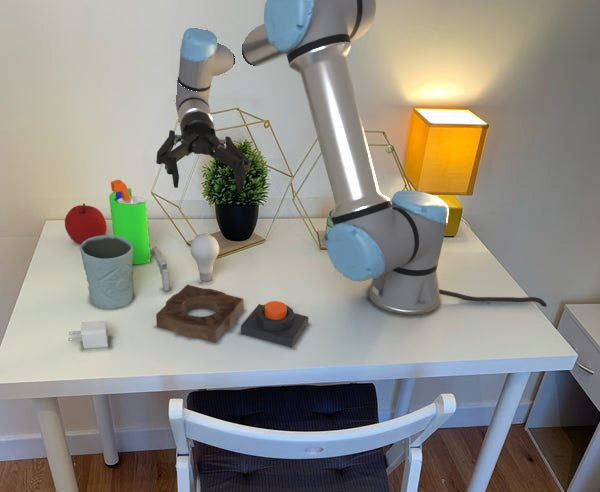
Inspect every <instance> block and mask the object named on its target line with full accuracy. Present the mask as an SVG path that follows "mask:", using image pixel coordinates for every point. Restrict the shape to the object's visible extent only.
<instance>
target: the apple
mask: <svg viewBox="0 0 600 492" xmlns="http://www.w3.org/2000/svg"><path fill="white" fill-rule="evenodd" d="M64 229H65V232H66V233H67V235H68V236H69V238H70V239H71V240H72V241H73V242H74V243H76V244H78V245H81V244H82V243H83V242H84V241H85V240H87V239H89V238H92V237H95V236H101V235H107V229H108V225H107V221H106V219H105V216H104V215H103V213H102V212H101V210H99V209H98V208H97V207H95V206H91V205H86V204H85V203H83V204H82V205H81V204H79V205H76V206H73V207H72V208H71V209H70V210H69V211H68V212H67V214H66V215H65V218H64Z"/></svg>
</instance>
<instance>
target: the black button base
mask: <svg viewBox="0 0 600 492" xmlns="http://www.w3.org/2000/svg"><path fill="white" fill-rule="evenodd" d="M266 304H267V303H264V304H260V303H258V305H257V306H256V307H255V308H254V309H253V310H252V312H251V313H250V314H249V315H248V316H247V318H246V319H245V320H244V322H243V323H242V324H241V325H240V334H241V335H243V336H247V337H249V338H255V339H258V340H261V341H266V342H269V343H273V344H277V345H280V346H284V347H287V348H293V347H294V346H295V345H296V343H297V341H298V340H299V338H300V337H301V336H302V334H303V333H304V331H305V330H306V329H307V327H308V325H309V316H307V315H303V314H299V313H295V312H294V309H293V308H292V307H290V306H289V305H287V304H285V305H286V306H287V315H286V317H285V318H283V319H280V320H273V319H269V318H267V317H266V316H265V314H264V312H265V305H266Z"/></svg>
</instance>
